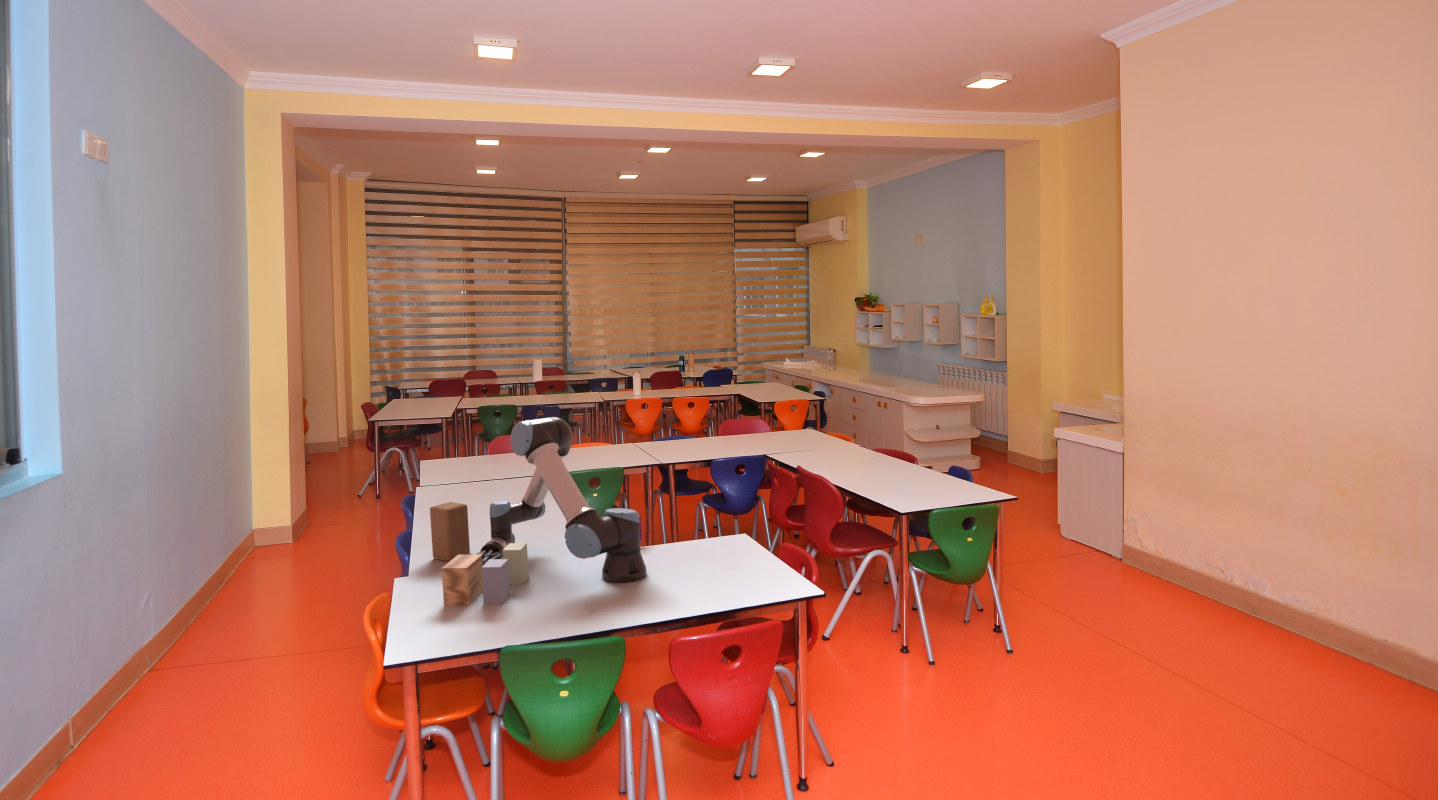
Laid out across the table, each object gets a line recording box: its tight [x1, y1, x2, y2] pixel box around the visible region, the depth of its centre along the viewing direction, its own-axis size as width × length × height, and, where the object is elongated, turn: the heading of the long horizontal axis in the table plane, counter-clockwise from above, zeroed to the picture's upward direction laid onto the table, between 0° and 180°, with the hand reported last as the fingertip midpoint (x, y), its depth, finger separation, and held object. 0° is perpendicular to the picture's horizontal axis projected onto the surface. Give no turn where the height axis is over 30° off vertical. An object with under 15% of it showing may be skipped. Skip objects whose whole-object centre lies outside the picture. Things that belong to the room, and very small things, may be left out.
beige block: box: [503, 542, 530, 586], centre depth 265 cm, size 6×8×12 cm
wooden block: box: [429, 501, 471, 563], centre depth 294 cm, size 10×10×20 cm
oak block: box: [441, 553, 483, 607], centre depth 250 cm, size 8×14×12 cm, turn 178°
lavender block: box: [482, 559, 511, 606], centre depth 247 cm, size 6×8×12 cm
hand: (470, 572), depth 257 cm, fingers closed
